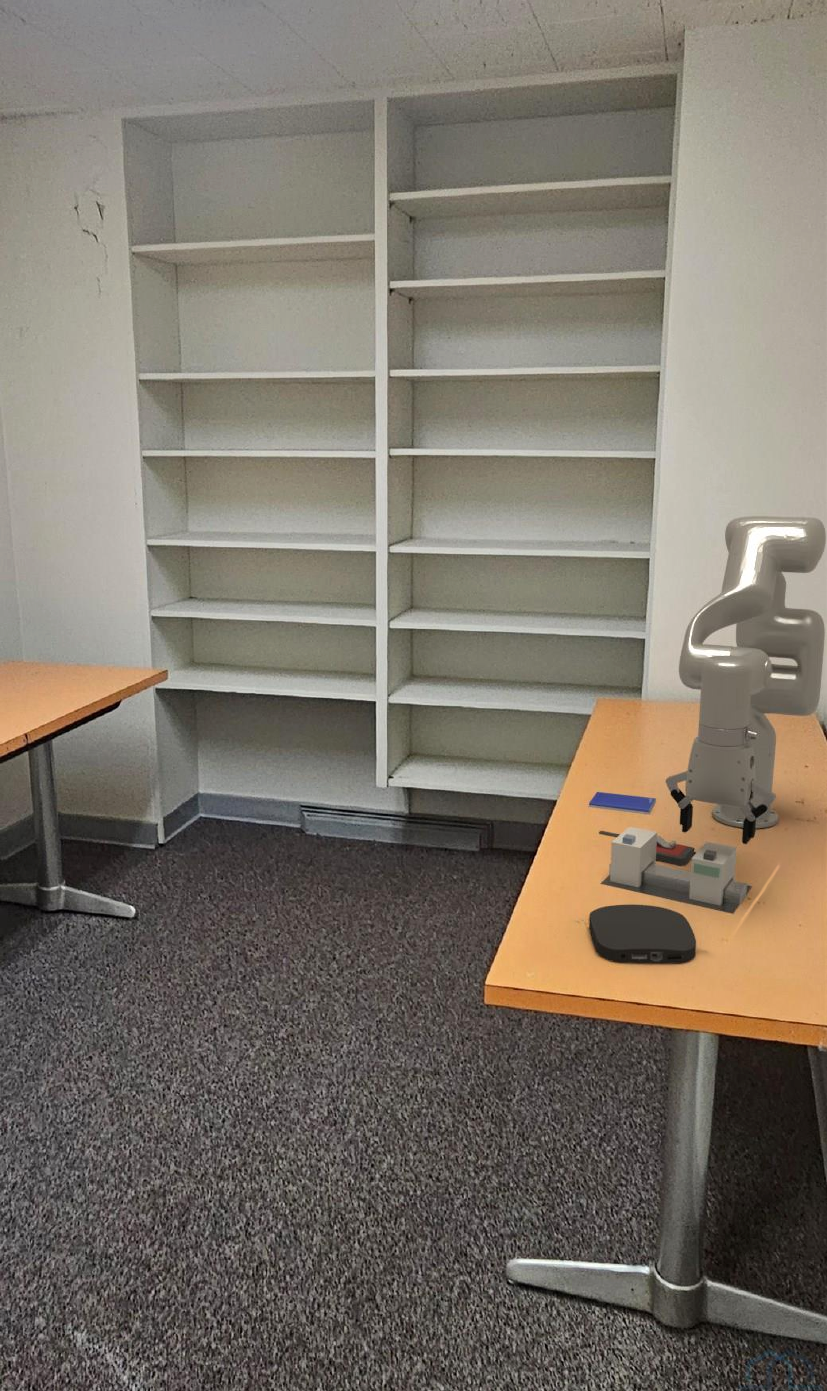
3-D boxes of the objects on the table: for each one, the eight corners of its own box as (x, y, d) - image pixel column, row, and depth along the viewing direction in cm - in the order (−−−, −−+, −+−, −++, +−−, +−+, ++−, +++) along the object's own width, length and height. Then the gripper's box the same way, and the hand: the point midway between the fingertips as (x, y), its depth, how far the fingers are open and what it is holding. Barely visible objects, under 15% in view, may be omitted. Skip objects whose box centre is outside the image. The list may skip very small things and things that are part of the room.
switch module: (703, 880, 170) (706, 835, 168) (733, 886, 168) (737, 841, 166) (688, 899, 163) (691, 852, 161) (719, 905, 160) (723, 858, 159)
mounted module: (627, 864, 177) (629, 821, 175) (655, 870, 174) (657, 826, 173) (609, 880, 170) (611, 836, 168) (638, 887, 168) (640, 842, 166)
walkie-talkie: (704, 858, 183) (600, 837, 193) (706, 835, 182) (601, 815, 192) (689, 875, 175) (582, 852, 186) (691, 851, 174) (583, 830, 185)
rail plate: (625, 864, 179) (626, 849, 179) (751, 891, 168) (753, 875, 167) (600, 888, 169) (600, 872, 169) (732, 919, 158) (734, 901, 157)
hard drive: (656, 797, 211) (597, 790, 216) (649, 809, 204) (588, 802, 209) (655, 804, 212) (597, 797, 216) (649, 817, 204) (588, 809, 209)
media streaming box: (679, 920, 159) (680, 903, 158) (701, 966, 144) (702, 947, 144) (585, 919, 159) (586, 902, 158) (598, 965, 145) (599, 945, 144)
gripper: (785, 735, 158) (776, 837, 162) (676, 721, 167) (671, 818, 171) (773, 748, 152) (765, 854, 156) (661, 732, 161) (656, 832, 165)
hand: (716, 835), depth 163 cm, fingers open, 9 cm apart
